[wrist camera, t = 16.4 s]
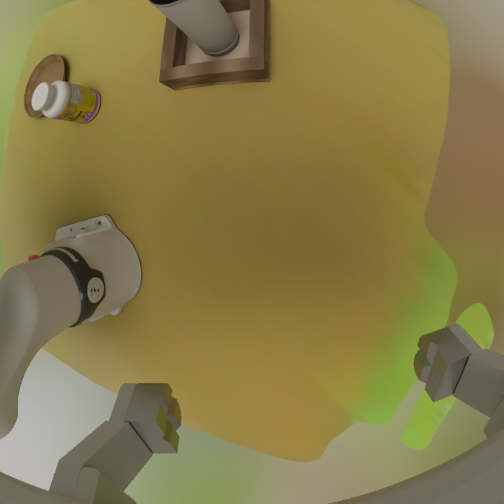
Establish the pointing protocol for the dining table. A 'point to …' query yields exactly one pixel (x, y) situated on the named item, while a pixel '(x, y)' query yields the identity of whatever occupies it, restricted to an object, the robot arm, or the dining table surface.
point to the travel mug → (202, 23)
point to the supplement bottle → (66, 101)
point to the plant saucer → (43, 80)
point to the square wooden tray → (226, 66)
